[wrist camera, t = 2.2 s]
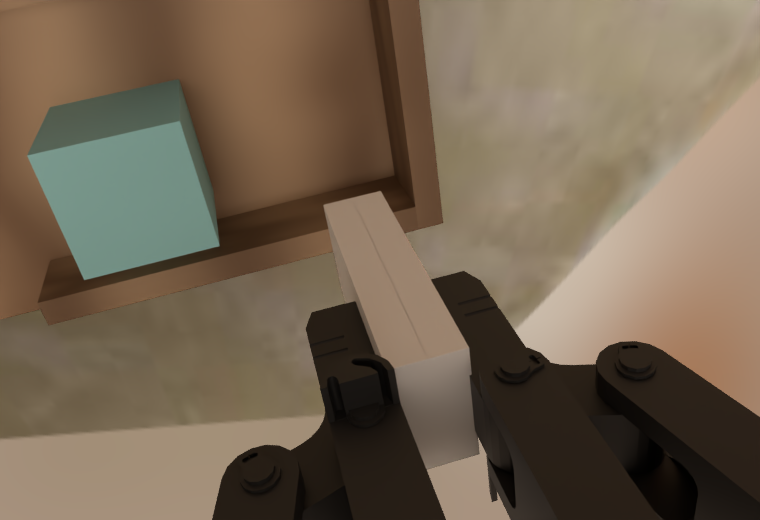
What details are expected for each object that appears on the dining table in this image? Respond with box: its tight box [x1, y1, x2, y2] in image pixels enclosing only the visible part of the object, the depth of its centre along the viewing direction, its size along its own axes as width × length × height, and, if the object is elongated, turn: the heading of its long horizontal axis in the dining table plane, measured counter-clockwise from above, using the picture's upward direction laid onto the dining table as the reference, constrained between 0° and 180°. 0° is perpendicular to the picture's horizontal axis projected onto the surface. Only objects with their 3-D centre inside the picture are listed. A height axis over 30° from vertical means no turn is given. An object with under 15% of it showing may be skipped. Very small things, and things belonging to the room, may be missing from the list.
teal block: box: [27, 79, 220, 280], centre depth 24 cm, size 4×4×4 cm
